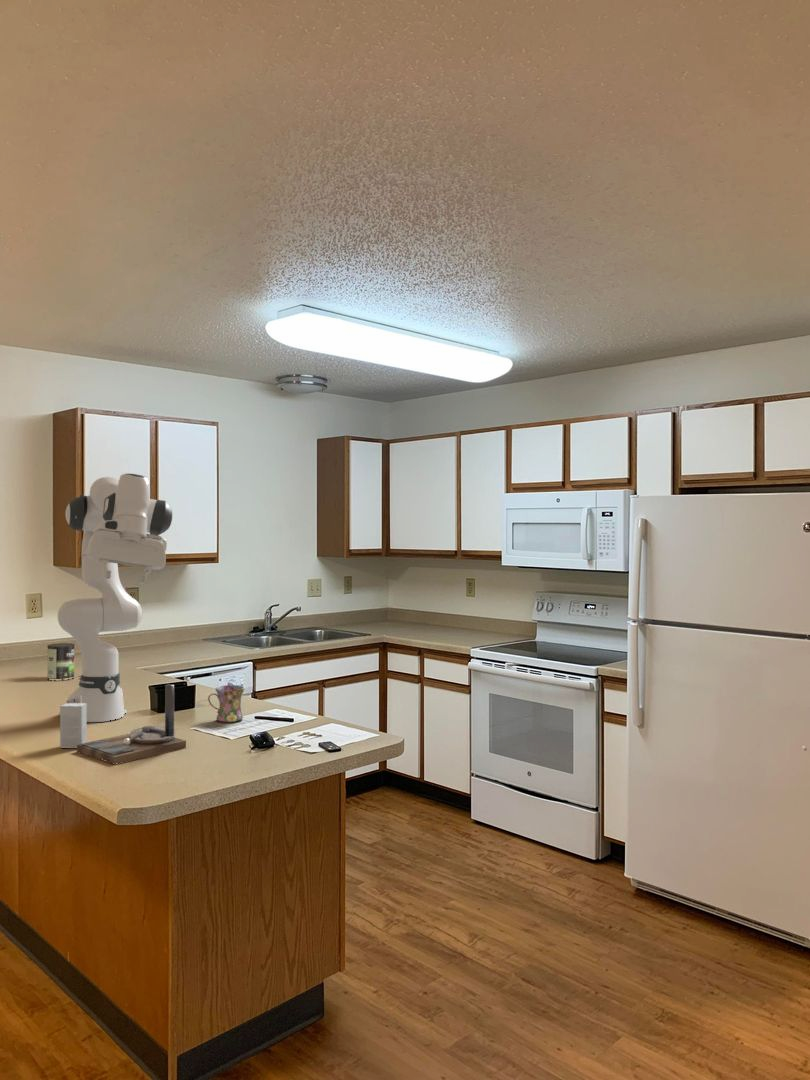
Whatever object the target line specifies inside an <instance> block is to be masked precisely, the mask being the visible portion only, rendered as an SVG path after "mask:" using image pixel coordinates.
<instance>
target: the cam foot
mask: <svg viewBox="0 0 810 1080" xmlns="http://www.w3.org/2000/svg"><path fill="white" fill-rule="evenodd" d="M164 687H165V691H164V693H165V694H164V697H165V698H164V699H165V700H164V701H165V703H164V726H163V725H148V726H147V725H145V726H141V727H139V728H136V729H133V730H131V731H130V733H131V738H130V739H128V738H125V739H124V740H123V743H124V745H128V744H130V741H132V742H134V743H140V744H154V743H162V742H167V741H170V740H173V739H174V738H176V729H175V684H173V683H172V684H170V683H168V684H165V686H164Z"/></svg>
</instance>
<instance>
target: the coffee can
mask: <svg viewBox="0 0 810 1080" xmlns="http://www.w3.org/2000/svg"><path fill="white" fill-rule="evenodd" d="M75 645H76V644H75V643H71V642H67V643H66V642H61V643H52V644H51V643H50V644H47V679H65V678H71V677H74V678H75Z"/></svg>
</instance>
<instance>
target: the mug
mask: <svg viewBox="0 0 810 1080" xmlns="http://www.w3.org/2000/svg"><path fill="white" fill-rule="evenodd" d="M245 688H246V687H245V686H244V685H239V684H238V685H237V684H226V685H218V686H217V687H215V692H216V693H210V694H209V695H208V696H207V701H208V704H209V705H210V706H211V707H212V708H213V709H215V710H217V711H216V713H217V716H216V720H217V721H219V722H221V723H222V722H223V723H235V722H238V721H239V722H240V721H241V720H243V718H244V715H243V713H242V708H241V707H242V706H241V705H242V704H241V703H242V696H243V693H244V691H245ZM211 696H216V697H217V699H218V702H219V705H218V707H216V706H214V705H213V704H212V702H211V700H210V699H211Z"/></svg>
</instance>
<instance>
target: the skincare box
mask: <svg viewBox="0 0 810 1080" xmlns="http://www.w3.org/2000/svg"><path fill="white" fill-rule="evenodd" d="M59 713H60V715H59V719H60V720H59V721H60V722H59V723H60V724H59V725H60V726H59V727H60V733H59V734H60V737H59V738H60V740H59V742H60V743H59V744H60V745H59V746H60V747H59V748H60V749H61V748H77V744H82V743H87V742H88V741H87V740H88V739H87V737H88V735H87V734H88V733H87V731H88V730H87V723H88V722H87V711H86V703H67V702H66V703H64V704H62V705H60V707H59Z"/></svg>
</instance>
